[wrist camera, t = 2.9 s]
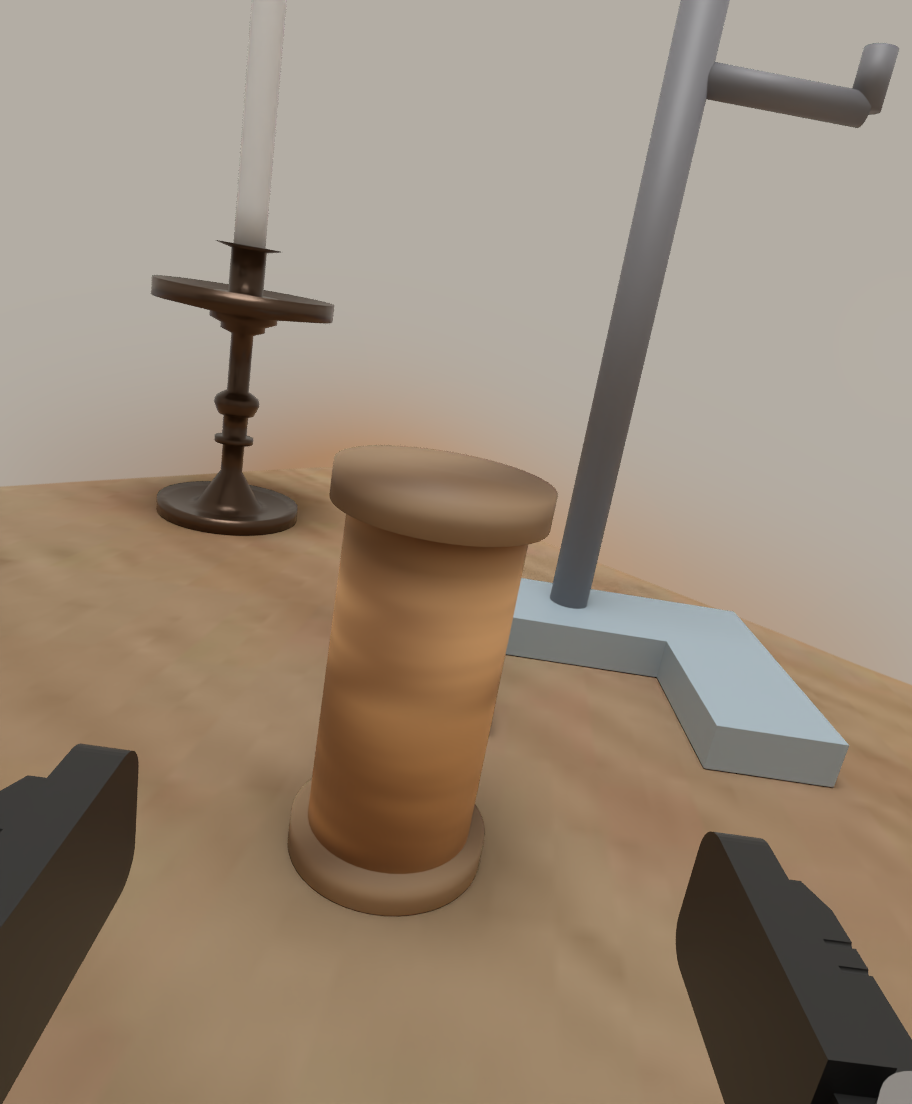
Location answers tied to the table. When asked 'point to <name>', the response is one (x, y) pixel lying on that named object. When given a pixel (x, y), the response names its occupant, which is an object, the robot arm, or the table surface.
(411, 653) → the cord spool
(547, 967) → the table surface
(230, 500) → the candlestick
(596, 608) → the hook stand
